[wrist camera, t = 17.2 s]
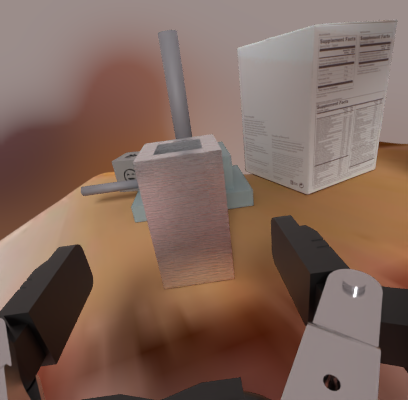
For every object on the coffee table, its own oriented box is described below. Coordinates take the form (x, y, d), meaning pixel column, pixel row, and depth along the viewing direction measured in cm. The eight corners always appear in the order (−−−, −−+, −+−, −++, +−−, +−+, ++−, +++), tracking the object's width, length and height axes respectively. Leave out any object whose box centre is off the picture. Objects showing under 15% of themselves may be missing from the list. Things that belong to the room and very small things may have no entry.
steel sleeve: (224, 240, 25) (212, 134, 21) (234, 278, 20) (221, 149, 16) (168, 248, 25) (145, 143, 21) (164, 289, 20) (132, 162, 16)
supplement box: (378, 169, 36) (402, 17, 28) (307, 196, 31) (314, 22, 24) (303, 153, 47) (307, 41, 40) (243, 171, 42) (234, 47, 35)
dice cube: (133, 180, 45) (126, 152, 43) (160, 179, 44) (154, 150, 42) (120, 192, 41) (111, 161, 39) (149, 190, 40) (142, 159, 38)
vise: (237, 177, 40) (226, 31, 32) (253, 205, 30) (243, 10, 23) (101, 197, 39) (56, 55, 32) (75, 231, 30) (3, 44, 23)
